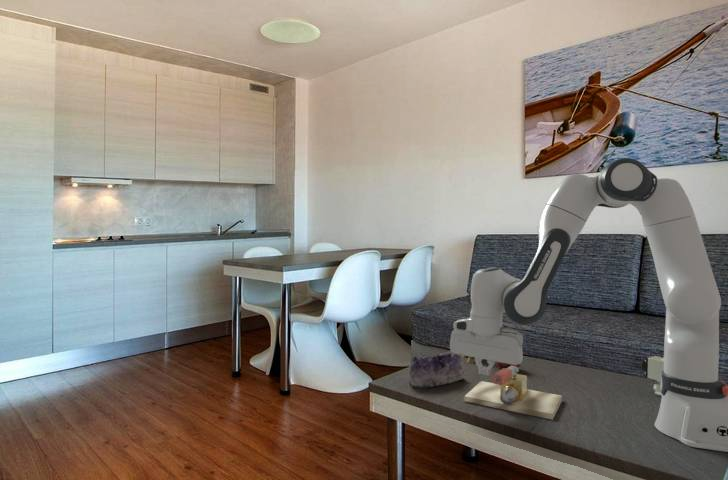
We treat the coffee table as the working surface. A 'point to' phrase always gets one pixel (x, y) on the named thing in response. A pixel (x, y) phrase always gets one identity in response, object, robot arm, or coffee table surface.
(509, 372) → the valve lever
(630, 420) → the coffee table surface
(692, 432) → the robot arm
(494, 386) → the base board
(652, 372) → the pneumatic valve
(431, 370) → the geode
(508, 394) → the valve body
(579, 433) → the coffee table surface
